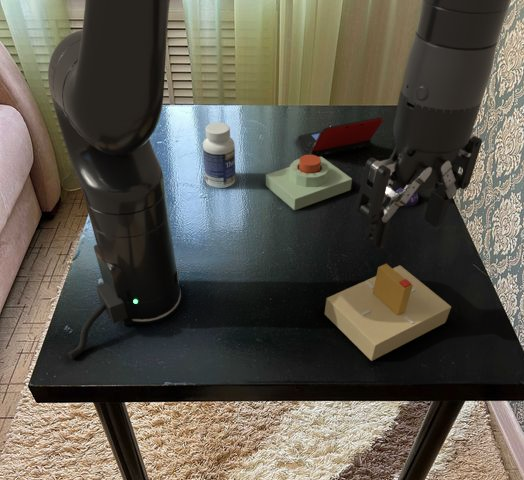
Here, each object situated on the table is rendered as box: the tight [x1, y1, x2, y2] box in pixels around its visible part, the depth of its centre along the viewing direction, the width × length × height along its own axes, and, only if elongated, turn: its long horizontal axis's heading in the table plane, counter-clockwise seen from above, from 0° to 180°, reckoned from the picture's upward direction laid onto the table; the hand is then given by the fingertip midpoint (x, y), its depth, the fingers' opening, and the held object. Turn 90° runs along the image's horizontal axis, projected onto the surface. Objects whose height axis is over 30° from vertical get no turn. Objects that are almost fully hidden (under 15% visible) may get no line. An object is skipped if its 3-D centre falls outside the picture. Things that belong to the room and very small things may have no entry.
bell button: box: [299, 154, 321, 174], centre depth 91 cm, size 4×4×2 cm
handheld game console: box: [297, 117, 384, 157], centre depth 101 cm, size 12×11×7 cm
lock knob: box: [373, 263, 413, 315], centre depth 69 cm, size 5×1×5 cm, turn 32°
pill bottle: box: [202, 122, 236, 189], centre depth 92 cm, size 5×5×10 cm
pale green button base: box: [265, 156, 353, 211], centre depth 93 cm, size 12×9×4 cm
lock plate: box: [324, 265, 452, 362], centre depth 72 cm, size 13×10×3 cm
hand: (404, 233), depth 62 cm, fingers open, 8 cm apart
